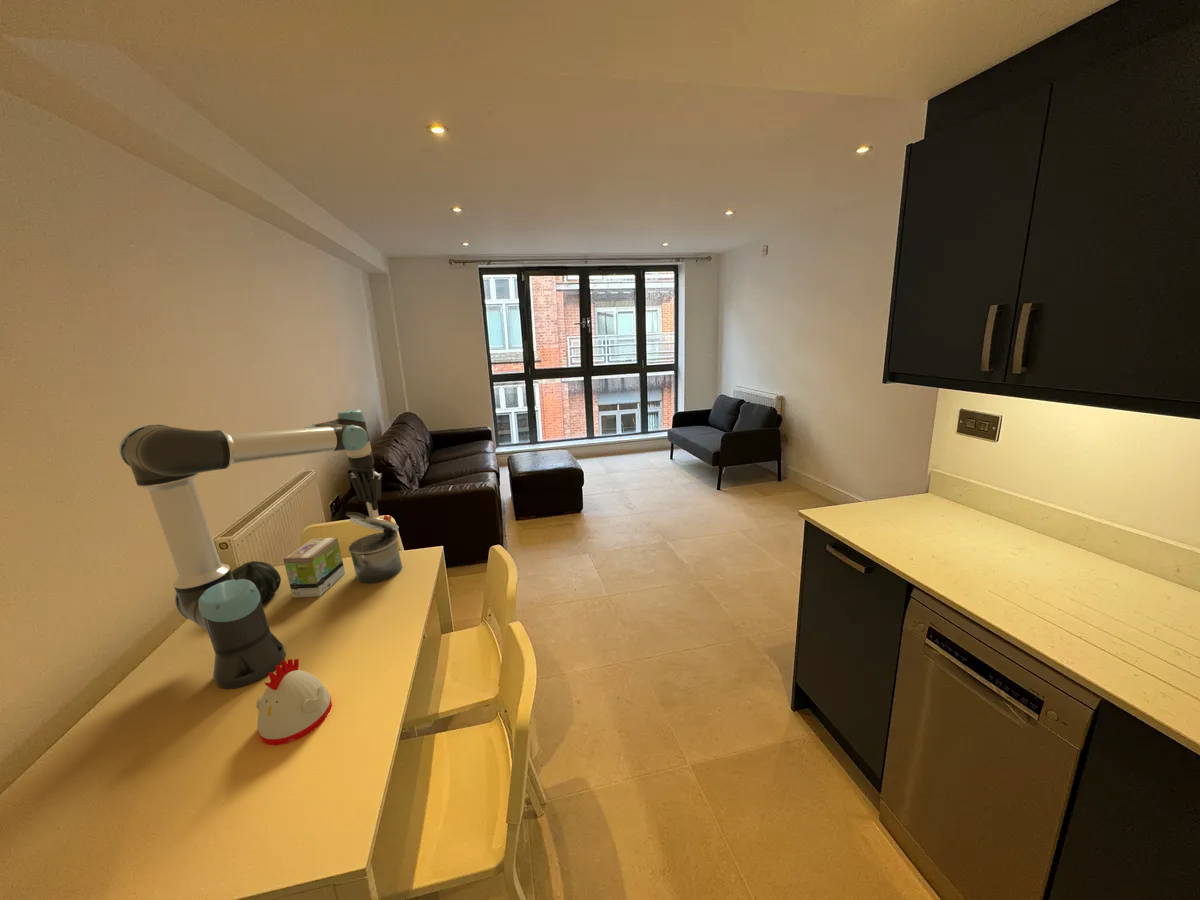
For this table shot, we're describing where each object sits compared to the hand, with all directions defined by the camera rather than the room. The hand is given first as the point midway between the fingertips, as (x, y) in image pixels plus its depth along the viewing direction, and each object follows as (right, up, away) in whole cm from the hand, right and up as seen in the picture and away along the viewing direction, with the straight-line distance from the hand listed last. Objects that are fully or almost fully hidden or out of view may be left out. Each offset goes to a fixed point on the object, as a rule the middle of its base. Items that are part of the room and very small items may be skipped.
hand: (374, 518), depth 163 cm
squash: (-35, -26, -9) cm, 44 cm away
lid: (0, -2, -1) cm, 2 cm away
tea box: (-17, -23, -3) cm, 29 cm away
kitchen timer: (+11, -37, -59) cm, 70 cm away
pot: (+1, -20, +3) cm, 20 cm away
